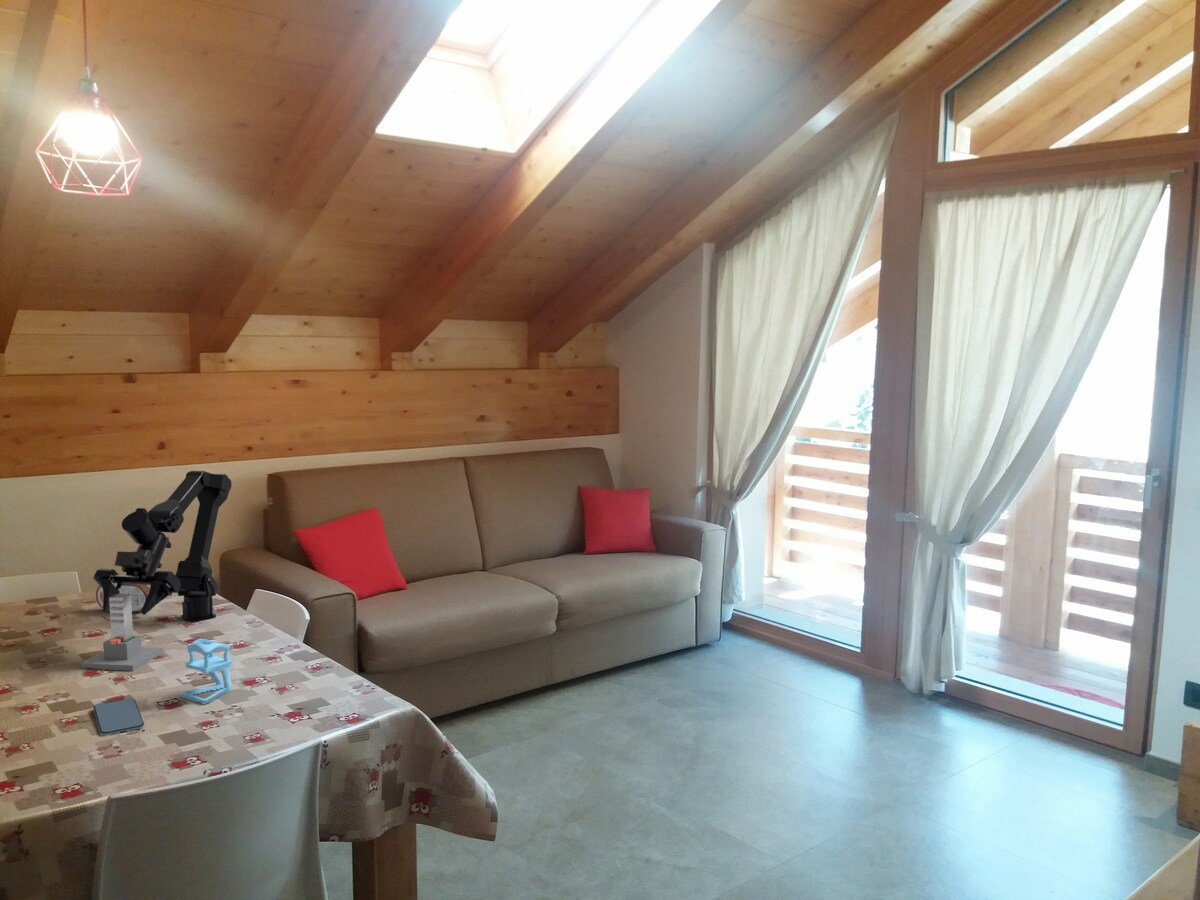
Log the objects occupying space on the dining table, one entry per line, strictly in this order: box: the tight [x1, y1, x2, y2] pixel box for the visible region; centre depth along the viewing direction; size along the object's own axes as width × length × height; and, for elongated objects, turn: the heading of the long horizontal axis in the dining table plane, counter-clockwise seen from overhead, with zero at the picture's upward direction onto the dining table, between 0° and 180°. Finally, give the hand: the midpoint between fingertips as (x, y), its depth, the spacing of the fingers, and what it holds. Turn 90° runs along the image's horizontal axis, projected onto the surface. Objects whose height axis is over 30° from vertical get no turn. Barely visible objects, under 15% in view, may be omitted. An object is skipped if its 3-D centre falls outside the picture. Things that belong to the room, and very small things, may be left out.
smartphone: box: [93, 697, 145, 737], centre depth 182 cm, size 8×2×15 cm
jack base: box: [81, 635, 164, 672], centre depth 214 cm, size 12×12×6 cm
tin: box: [95, 584, 150, 613], centre depth 251 cm, size 15×3×8 cm, turn 84°
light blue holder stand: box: [181, 638, 233, 704], centre depth 194 cm, size 8×8×12 cm
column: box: [109, 594, 135, 642], centre depth 213 cm, size 4×3×10 cm
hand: (123, 613), depth 214 cm, fingers open, 9 cm apart
